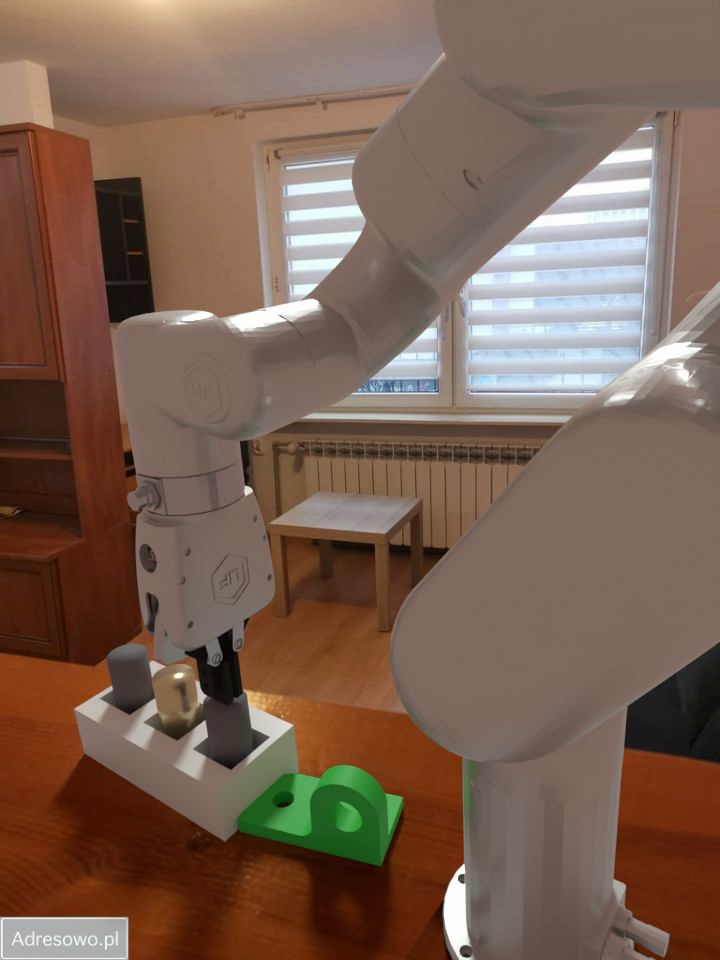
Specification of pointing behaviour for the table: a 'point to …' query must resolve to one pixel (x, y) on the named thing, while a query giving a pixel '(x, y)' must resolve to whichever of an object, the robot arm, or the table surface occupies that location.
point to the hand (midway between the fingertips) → (222, 694)
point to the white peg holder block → (186, 759)
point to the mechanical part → (327, 814)
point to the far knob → (130, 677)
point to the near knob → (229, 730)
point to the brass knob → (176, 700)
